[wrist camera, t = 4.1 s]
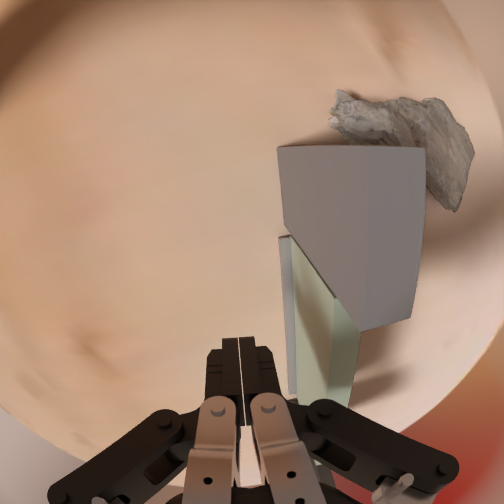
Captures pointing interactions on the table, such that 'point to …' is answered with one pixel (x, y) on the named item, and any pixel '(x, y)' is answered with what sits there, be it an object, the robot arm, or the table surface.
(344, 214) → the door frame
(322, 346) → the door
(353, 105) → the stone
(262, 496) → the robot arm
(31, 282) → the table surface
